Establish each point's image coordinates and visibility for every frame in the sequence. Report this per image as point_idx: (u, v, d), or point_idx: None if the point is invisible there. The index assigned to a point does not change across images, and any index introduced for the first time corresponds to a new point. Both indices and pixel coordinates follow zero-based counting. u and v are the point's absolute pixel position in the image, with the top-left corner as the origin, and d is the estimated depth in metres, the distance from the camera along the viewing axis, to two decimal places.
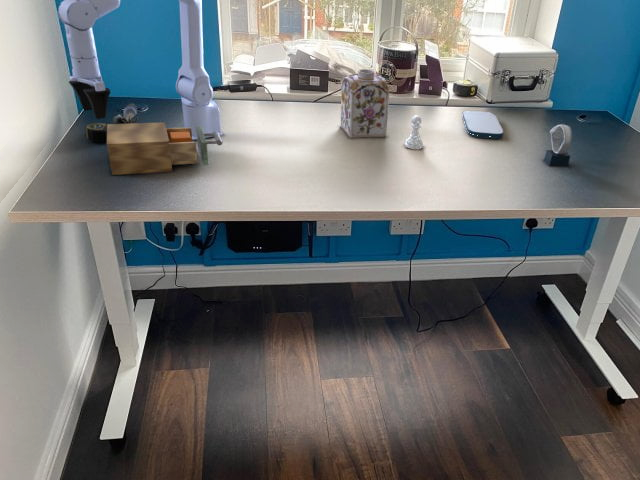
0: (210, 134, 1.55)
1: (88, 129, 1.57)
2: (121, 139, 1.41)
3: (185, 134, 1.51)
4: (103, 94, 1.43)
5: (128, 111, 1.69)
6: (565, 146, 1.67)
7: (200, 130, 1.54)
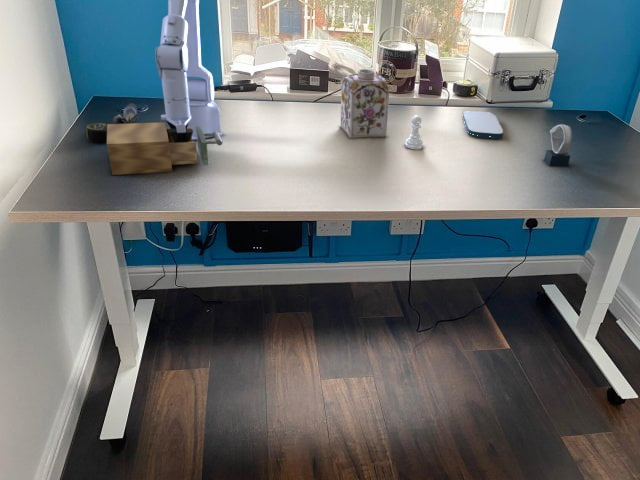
0: (210, 134, 1.55)
1: (88, 129, 1.57)
2: (121, 139, 1.41)
3: None
4: (186, 135, 1.46)
5: (128, 111, 1.69)
6: (565, 146, 1.67)
7: (200, 130, 1.54)
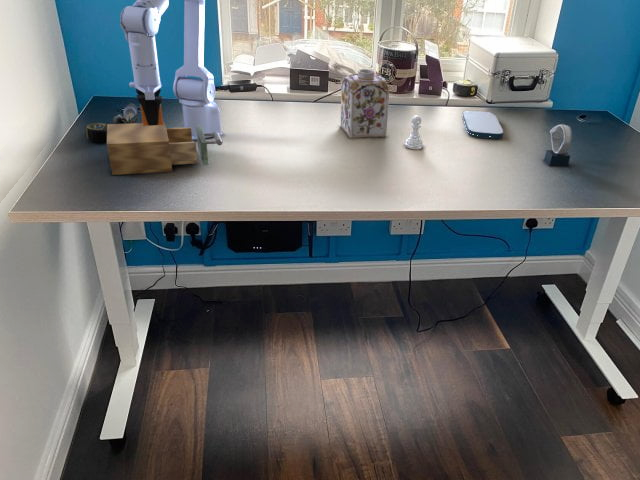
0: (210, 134, 1.55)
1: (88, 129, 1.57)
2: (121, 139, 1.41)
3: None
4: (155, 102, 1.40)
5: (128, 111, 1.69)
6: (565, 146, 1.67)
7: (200, 130, 1.54)
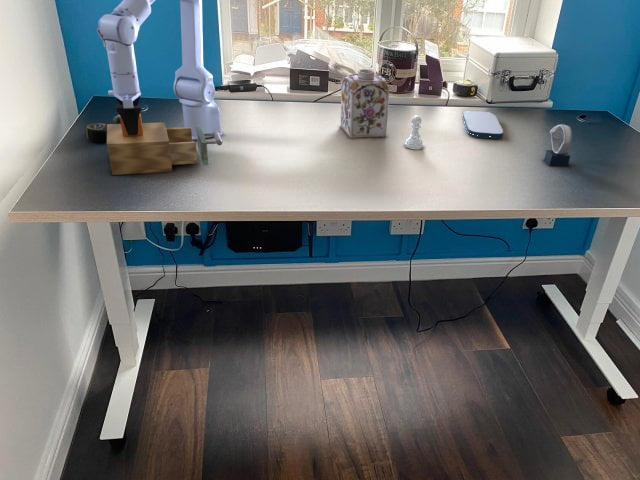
0: (210, 134, 1.55)
1: (88, 129, 1.57)
2: (121, 139, 1.41)
3: None
4: (134, 111, 1.39)
5: None
6: (565, 146, 1.67)
7: (200, 130, 1.54)
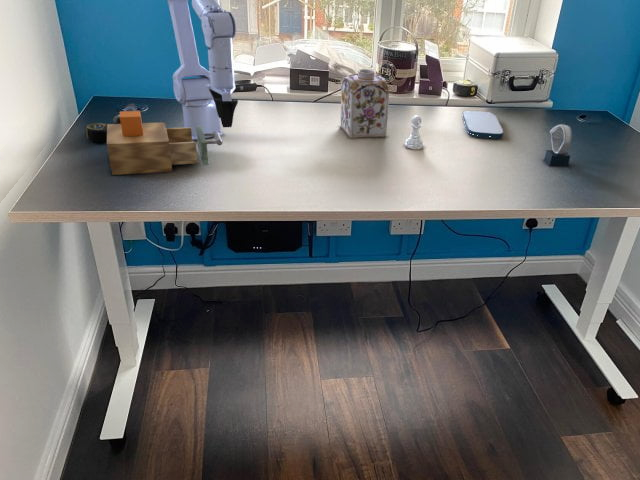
0: (210, 134, 1.55)
1: (88, 129, 1.57)
2: (121, 139, 1.41)
3: (135, 113, 1.44)
4: (231, 104, 1.46)
5: None
6: (565, 146, 1.67)
7: (200, 130, 1.54)
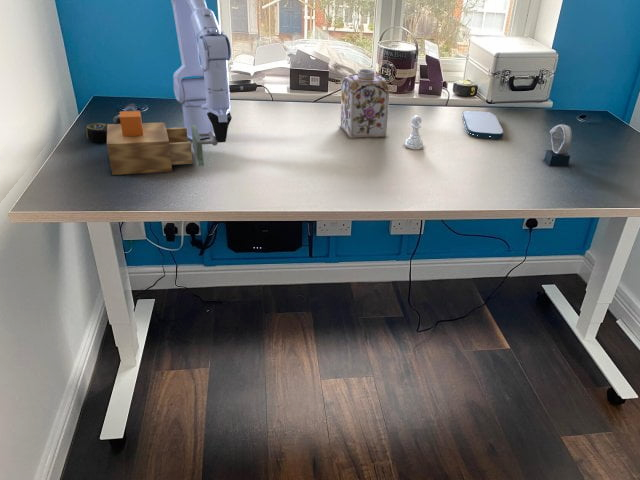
0: (205, 134, 1.55)
1: (88, 129, 1.57)
2: (121, 139, 1.41)
3: (135, 113, 1.44)
4: None
5: None
6: (565, 146, 1.67)
7: (196, 130, 1.53)
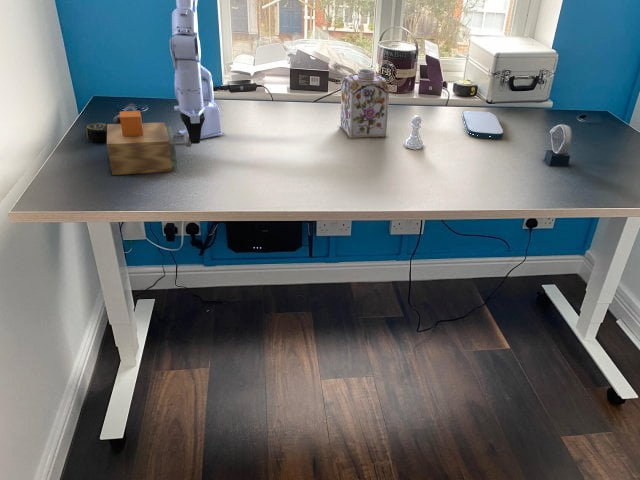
0: (180, 135, 1.53)
1: (88, 129, 1.57)
2: (121, 139, 1.41)
3: (135, 113, 1.44)
4: None
5: None
6: (565, 146, 1.67)
7: (169, 131, 1.51)
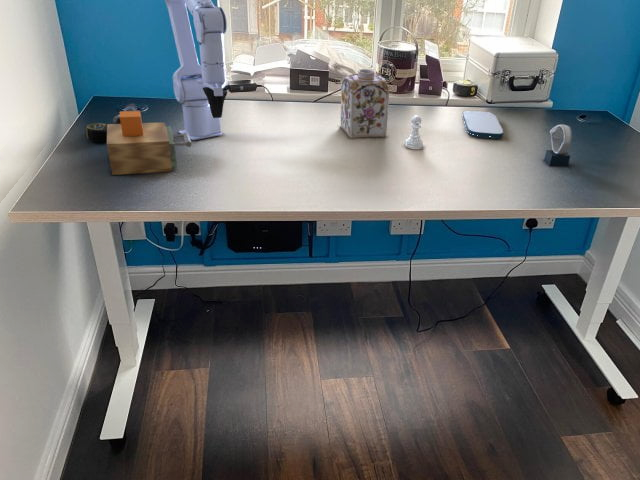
0: (180, 135, 1.53)
1: (88, 129, 1.57)
2: (121, 139, 1.41)
3: (135, 113, 1.44)
4: (220, 95, 1.50)
5: None
6: (565, 146, 1.67)
7: (169, 131, 1.51)
